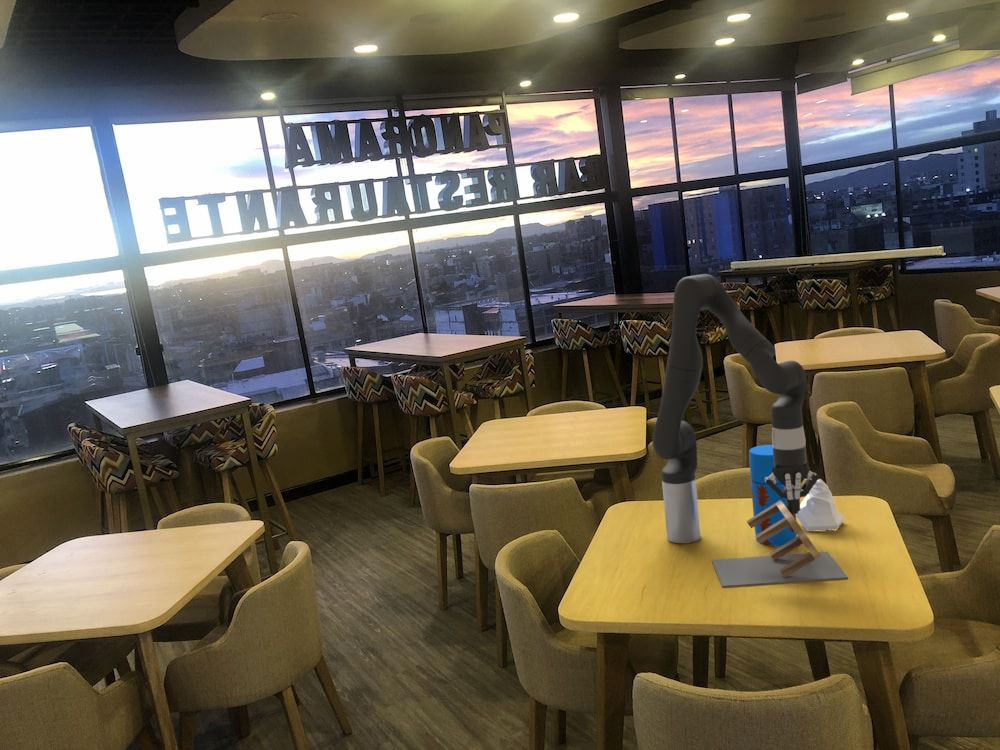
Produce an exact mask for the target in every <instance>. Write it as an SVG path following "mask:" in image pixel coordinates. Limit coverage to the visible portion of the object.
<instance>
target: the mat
mask: <svg viewBox="0 0 1000 750" xmlns="http://www.w3.org/2000/svg"><path fill="white" fill-rule="evenodd" d="M818 552H819V554H820V555H821V556H820V557H818V558H817V559H815V560H813V561H812V562H810V563H808V564H807V565H805V566H803V567H802V568H800V569H799V570H797V571H795V572H794V573H792V574H790V575H789V576H787V577H785V578H784V576H783V575H782V573H781V572H780V569H782V568H783V567H785V566H787V565H788V564H790V563H792V562H793V561H795V560H797V559H798V558H800V557H801V556H803V555H805V554H806V553H807V552H803V553H787V554H785V555H784V556H782V557H780V558H779V559H777V560H775V561H774V560H773V558H772V557H771V555H761V556H746V557H737V558H736V557H735V558H734V557H733V558H720V559H719V558H717V559H711V562H712V565H713V568H714V570H715V572H716V573H715V574H716V575H717V578H718V580H719V582H720V585H721V587H722V588H731V587H732V588H733V587H747V586H748V587H749V586H760V585H761V586H763V585H776V584H787V583H788V584H791V583H802V582H803V583H804V582H817V581H818V582H820V581H832V580H833V581H834V580H847V579H849V577H848V575H847V574H846V573H845V572H844V571H843V569H842V568H841V567H840V565H839V564H838V562H837V561H836V560H835V559H834V557H833V556H832V555H831V553H830V552H828V551H818Z"/></svg>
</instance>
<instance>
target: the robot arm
mask: <svg viewBox="0 0 1000 750" xmlns="http://www.w3.org/2000/svg"><path fill="white" fill-rule="evenodd" d="M672 304H673V306H672V309H673V310H672V325H671V335H670V344H669V348H668V349H669V350H668V357H667V361H666V367H665V374H664V381H663V382H664V383H663V389H662V394H661V400H660V406H659V410H658V414H657V418H656V421H655V424H654V425H655V426H654V429H653V433H652V447H653V450H654V452H655V454H656V455H657V456H658V457H659V458H660V459H663V460H667V463H666V464H665V466H664V467H663V468H662V470H661V471H660V472H661V475H660V476H661V485H662V497H663V507H664V516H665V529H666V538H667V541H669V542H671V543H676V544H690V543H694V542H697V541H699V540H700V539H701V527H700V515H699V514H700V513H699V503H698V492H697V490H698V489H697V482H696V481H697V479H696V472H697V468H698V450H697V449H698V448H697V447H698V446H697V445H698V443H697V437H696V432H695V430H694V429H693V427H692V426H691V424H689V423H688V422H687V421H685V420H683V417H684V413H685V412H686V409H687V407H688V405H689V404H690V402H691V400H692V399H693V397H694V396H695V393H696V391H697V390H698V387H699V385H700V383H701V382H700V381H701V377H702V371H703V365H704V359H703V353H702V349H701V347H700V344H699V341H698V337H697V325H698V319H699V315H700V312H701V311H706V310H707V311H709V312H710V313H711V314H713V315H714V316H715V317H717V319H719V322H721V323H722V325H723V326H724V327H723V328H724V329H725V332H726V335H727V338H728V340H729V342H730V344H731V346H732V347H733V348H734V349H735V351H736V352H737V353H738V354H740V356H741V357H742V358H743V359H744V360H745V361H746V362H747V363H748V364H750V367H751V368H752V371H753V373H754V374H755V376H756V378H757V380H758V381H759V382H760V384H761V385H762V387H763V388H765V389H766V390H767V391H768V392H770V393H771V394H774V395H779V396H778V399H777V400H776V401H775V402H774V403H773V404H772V405H771V409H770V414H771V415H770V416H771V417H770V418H771V427H772V428H771V442H772V443H771V445H773V459H774V467H773V470H772V474H771V475H770V476H768V477H765V478H764V480H765V482H766V483H767V484H768V485H769V486H770V487H771V488H772V489H773V490H774V491H775V492H776V493H777V494H778V495H779V496H780V497H781V498H786V503H787V509H788V510H789V512H790V513H791V514H796V515H797V514H798V511H800V504H801V497H806V495H807V494H809V491H810V490H811V489H812V487H813V486H814V484H815V483H816V482H817V480H819V479H820V476H819V475H818V474H817V473H816V472H813V471H811V470H810V467H809V466H808V463H807V449H806V447H807V446H806V443H807V440H806V435H805V434H806V433H805V429H804V419H803V410H802V409H803V405H804V400H805V393H806V387H807V375H806V371H805V369H804V367H803V366H802V364H800V362H798V361H795V360H786V361H783V362H776V360H775V359H774V356H775V354H776V349H775V346H774V345H773V344H772V343H771V342H770V341H769V340H768V339H767V338H766V337H765V336H764V335H763V334H762V332H760V331H759V330H758V329H757V328H756V327H755V326H754V325H753V324H752V322H750V321H749V319H748V318H747V317H746V316H745V315H744V314H743V312H742V311H741V310H740V308H739V307H738V305H737V304H736V302H735V301H734V300H733V298H732V297H731V296H730V295H729V293H728V292H727V290H726V289H725V288H724V286H723V285H722V284H721V282H720V281H719V280H718V279H717V278H716V277H715V276H713V275H711V274H707V273H702V274H696V275H695V274H694V275H689V276H685V277H682V278H681V279H680V280H679V281H678V282H677V284H676V286H675V288H674V295H673V303H672ZM775 477H776V478H777V479H778V480H779V481H780V482H781V483H782V484H783V486H784V490H785V492H784V491H781V490H780V489H779V487H778V486H777V485H776V484H775V483H776V480H775ZM805 479H806V480H805ZM804 480H805V482H804ZM803 482H804V483H803ZM802 483H803V485H802V486H801V484H802ZM791 485H792V486H791Z"/></svg>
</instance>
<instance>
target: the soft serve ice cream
mask: <svg viewBox="0 0 1000 750" xmlns="http://www.w3.org/2000/svg"><path fill="white" fill-rule="evenodd" d="M844 518H845V516H843V514H841V513H840V512H839V511H838V510H837V507H836V503H835V501H834V497H833V494H832V492H831V490H830V489H829V486H828V484H826V483H825V481H824V480H822V479H821V478H819V479H818V480H817V482H816V483H815V484H814V486H813V487H812V489H811V490H810V491H809V493H808V494H807V495H806V496H804V498H803V500H802V501H800V511H798V514H796V519H798V521H799V523H801V525H802V526H803V528H804V530H806V532H807V531H814V530H815V531H816V530H829V529H831V530H832V529H834V530H835V529H838V528H839V529H840V527H841V526H840V525H842V524H843V523H844ZM842 522H843V523H842ZM841 523H842V524H841ZM839 526H840V527H839ZM839 529H838V530H839Z"/></svg>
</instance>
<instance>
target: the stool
mask: <svg viewBox="0 0 1000 750" xmlns="http://www.w3.org/2000/svg"><path fill="white" fill-rule="evenodd" d="M779 511H781V513H782V514H783V515H784V517H785V518H783V519H782V520H780V521H778V522H777V523H775V524H774V525H772V526H770V527H769V528H767V529H766V530H764V531H762V532H761V533H759V534H757V535H756V534H755V535H754V537H755V539H756V538H757V540H758V541H759V542H758V543H759V544H761V543H762V542H764V541H765V540H767V539H769V538H770V537H772V536H773V535H775V534H777V533H778V532H780V531H782V530H783V529H785V528H786V527H788V526H790V525H791V527H792V528H793V529H794V531H795V532H796V534H797V537H796V538H794V539H793V540H791V541H789V542H788V543H786V544H784V545H783V546H779V547H778V548H776V549H775V550H773V551H772V552H770V553H769V556H771V557H772V558H773V560H774V561H775V560H777V559H779V558H780V557H782V556H784V555H786V554H789V553H790V552H792V551H794V550H795V549H796V548H798V547H799V546H802V545H804V546H805V548H806V549H807V550H808V552H805V553H806V554H805V555H803V556H801V557H800V558H798V559H797V560H795V561H793V562H792V563H790V564H788V565H787V566H785V567H783V568H782V569H780V572H781V573H782V575H783V576H784V578H785V577H787V576H789V575H790V574H792V573H794V572H795V571H797V570H799V569H800V568H802V567H803V566H805V565H807V564H808V563H810V562H812V561H813V560H815V559H817V558H818V557H820V556H821V555H820V554H819V552H820V551H819V550H817V548H816V546H814V543H812V541H811V540H810V538H809V537H808V536H807V534H806V533H805V531H804V530H803V528H802V527H801V525H800V524H799V522H798V521H797V519H796V520H795V518H794V517H793V516H792V514H791V513H790V512H789V510H788V509H787V508H786V506H785V505H784V504H783V503H782V501H781V500H780V501H778V502H776V503H775V504H773V505H772V506H770V507H768V508H767V509H765V510H764V511H762V512H760V513H759V514H757V515H756V516H754V515H753V517H751V518H749V519H748V520H746V523H747V525H748V526H749V527H750V528H751V529H753V528H755V527H754V526H756V525H758V524H759V523H761V522H762V521H764V520H766V519H767V518H769V517H771V516H772V515H774V514H775V513H777V512H779ZM757 540H756V541H757ZM761 545H762V544H761Z"/></svg>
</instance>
